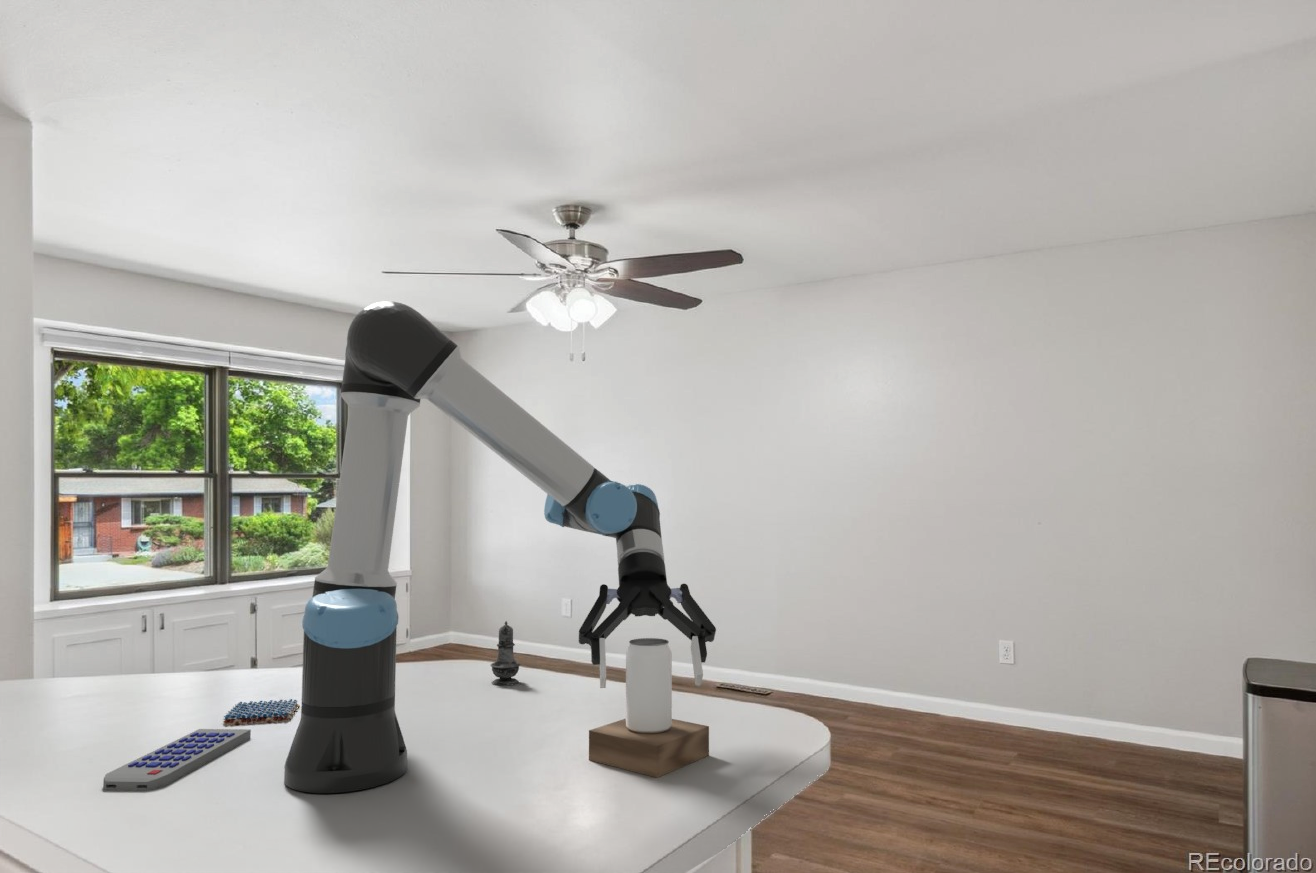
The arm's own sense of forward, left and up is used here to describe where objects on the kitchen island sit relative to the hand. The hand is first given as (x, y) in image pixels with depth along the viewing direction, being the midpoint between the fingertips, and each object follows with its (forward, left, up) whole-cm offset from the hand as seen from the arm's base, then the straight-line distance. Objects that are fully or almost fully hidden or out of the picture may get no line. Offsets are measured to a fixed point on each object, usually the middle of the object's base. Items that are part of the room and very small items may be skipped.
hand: (651, 681), depth 117 cm
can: (0, +1, -7) cm, 7 cm away
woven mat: (-22, +65, -11) cm, 70 cm away
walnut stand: (0, +1, -11) cm, 10 cm away
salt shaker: (+20, +53, -11) cm, 57 cm away
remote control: (-41, +51, -11) cm, 66 cm away
